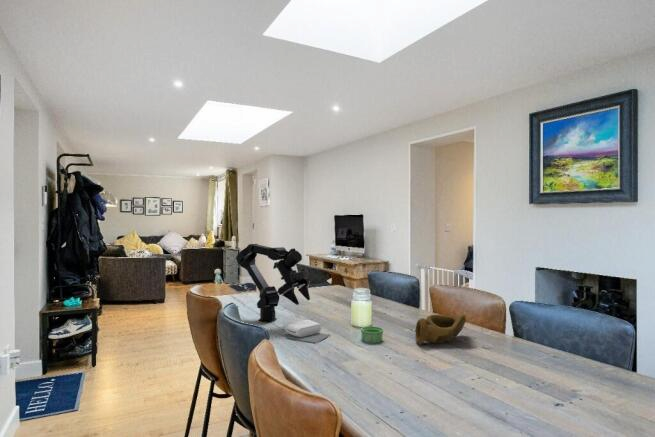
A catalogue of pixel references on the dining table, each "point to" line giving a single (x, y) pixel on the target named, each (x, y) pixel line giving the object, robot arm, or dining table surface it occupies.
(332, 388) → the dining table surface
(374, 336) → the ramekin
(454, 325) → the brown looped sculpture
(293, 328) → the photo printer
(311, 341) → the mat
